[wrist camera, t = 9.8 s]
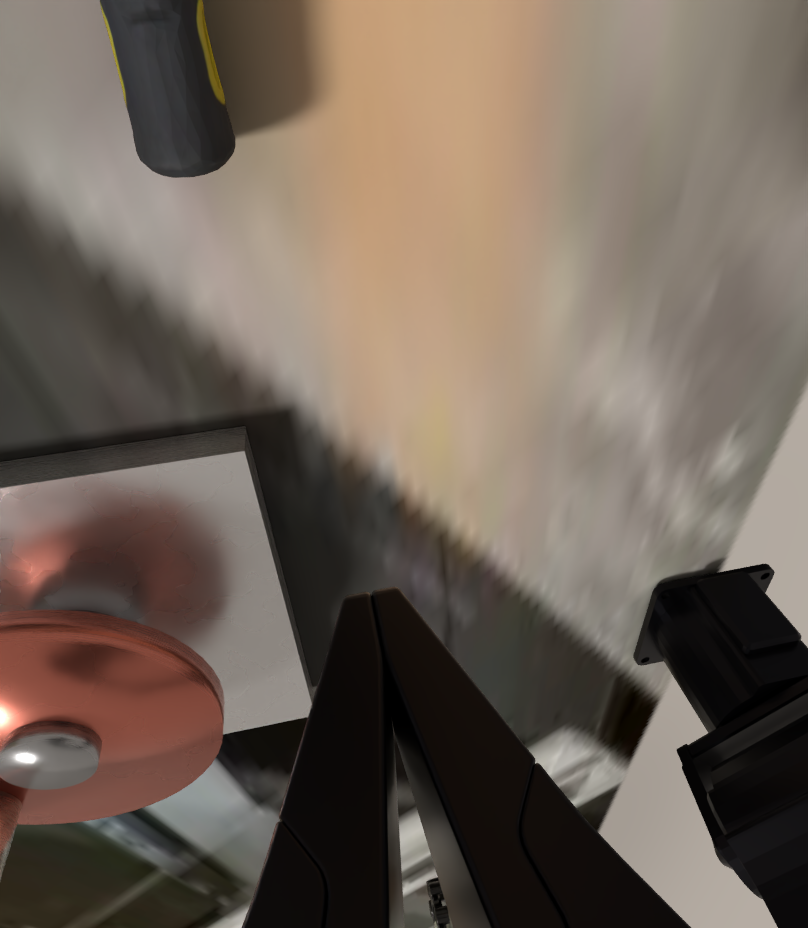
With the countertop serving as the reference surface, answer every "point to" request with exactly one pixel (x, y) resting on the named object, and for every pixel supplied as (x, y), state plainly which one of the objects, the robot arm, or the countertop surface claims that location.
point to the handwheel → (98, 717)
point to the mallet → (170, 85)
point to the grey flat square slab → (162, 557)
